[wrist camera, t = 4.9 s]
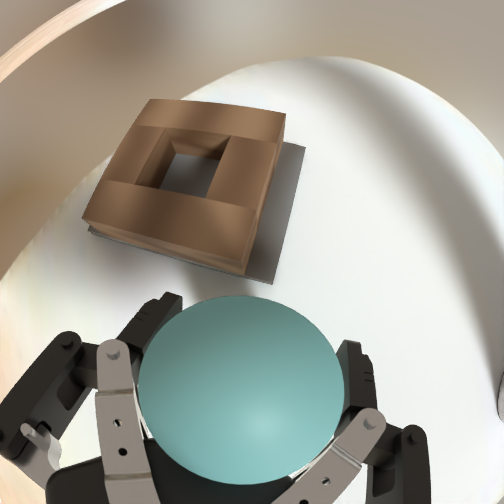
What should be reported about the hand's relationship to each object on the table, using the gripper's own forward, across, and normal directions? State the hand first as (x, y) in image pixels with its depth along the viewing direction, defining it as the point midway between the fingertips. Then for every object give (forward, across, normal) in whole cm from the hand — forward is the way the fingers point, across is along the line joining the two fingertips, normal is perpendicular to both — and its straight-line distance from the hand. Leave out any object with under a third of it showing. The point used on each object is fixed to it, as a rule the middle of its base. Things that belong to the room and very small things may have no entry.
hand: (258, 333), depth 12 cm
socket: (+11, +8, -2) cm, 14 cm away
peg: (+4, 0, +6) cm, 7 cm away
